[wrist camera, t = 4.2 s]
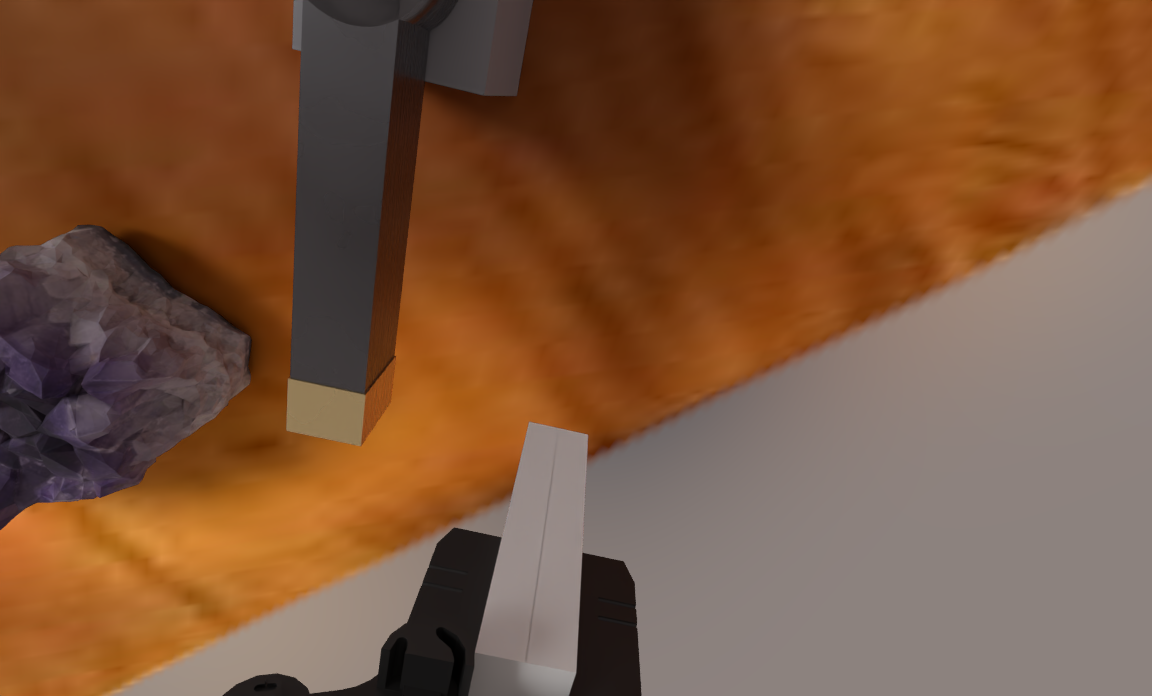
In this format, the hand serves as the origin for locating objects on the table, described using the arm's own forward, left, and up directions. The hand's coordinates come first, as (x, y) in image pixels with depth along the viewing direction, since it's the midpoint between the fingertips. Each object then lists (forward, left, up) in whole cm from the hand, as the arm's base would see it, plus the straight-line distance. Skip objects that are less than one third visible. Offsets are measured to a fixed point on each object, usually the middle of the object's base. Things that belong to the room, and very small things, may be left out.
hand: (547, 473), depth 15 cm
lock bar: (-7, +5, -7) cm, 11 cm away
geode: (-25, -11, -16) cm, 31 cm away
